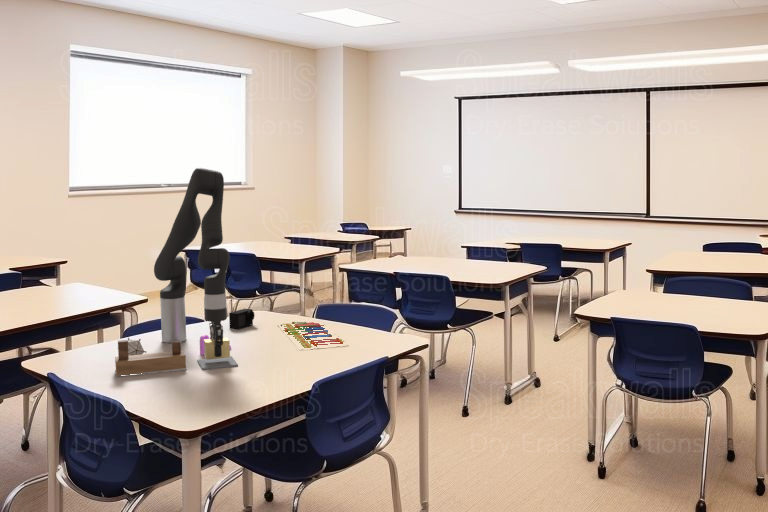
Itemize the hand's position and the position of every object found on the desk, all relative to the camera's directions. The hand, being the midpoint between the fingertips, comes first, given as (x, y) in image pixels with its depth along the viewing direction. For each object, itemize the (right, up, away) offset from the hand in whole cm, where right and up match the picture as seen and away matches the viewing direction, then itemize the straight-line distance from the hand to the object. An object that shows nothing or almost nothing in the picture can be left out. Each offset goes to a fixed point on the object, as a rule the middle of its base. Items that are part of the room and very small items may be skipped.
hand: (217, 354), depth 256 cm
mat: (0, -3, 0) cm, 3 cm away
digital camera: (-2, +4, +58) cm, 58 cm away
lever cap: (0, -1, 0) cm, 1 cm away
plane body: (-20, -4, -8) cm, 22 cm away
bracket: (-4, -1, +18) cm, 18 cm away
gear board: (+28, +1, +42) cm, 51 cm away
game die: (-31, -3, +4) cm, 31 cm away
